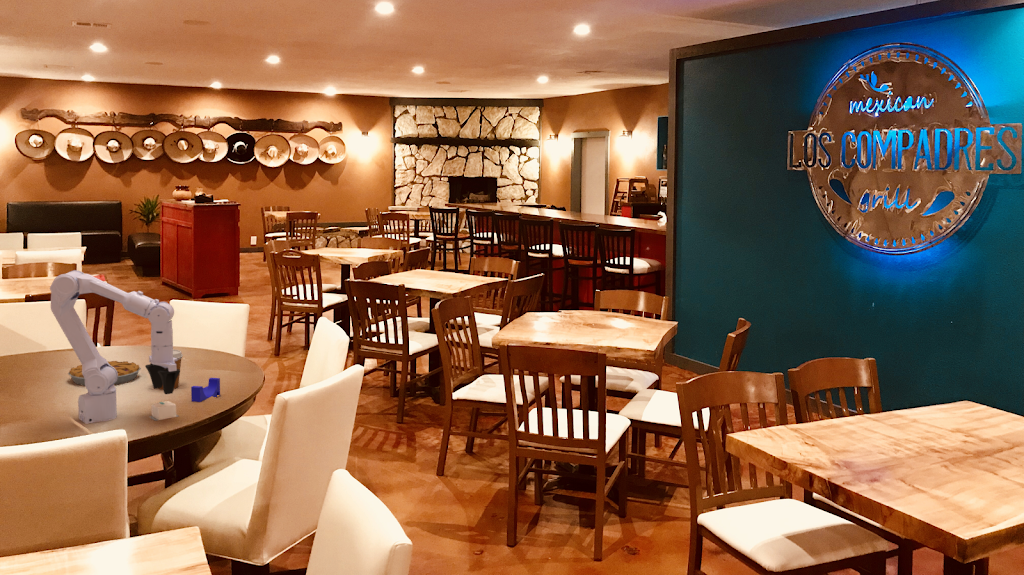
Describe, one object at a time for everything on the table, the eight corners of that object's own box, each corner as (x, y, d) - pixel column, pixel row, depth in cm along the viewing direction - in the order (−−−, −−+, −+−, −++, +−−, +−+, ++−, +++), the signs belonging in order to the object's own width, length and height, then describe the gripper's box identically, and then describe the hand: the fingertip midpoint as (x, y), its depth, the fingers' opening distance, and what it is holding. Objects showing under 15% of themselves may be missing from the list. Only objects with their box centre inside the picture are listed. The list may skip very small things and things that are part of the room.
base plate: (155, 424, 230) (155, 420, 230) (148, 420, 233) (148, 416, 233) (179, 420, 235) (179, 416, 235) (172, 416, 238) (172, 412, 238)
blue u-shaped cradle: (207, 395, 262) (206, 377, 261) (220, 396, 261) (219, 378, 260) (187, 405, 250) (186, 386, 249) (200, 406, 249) (200, 387, 249)
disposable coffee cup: (164, 382, 274) (163, 348, 273) (189, 384, 272) (188, 350, 271) (146, 389, 265) (145, 354, 263) (172, 392, 263) (171, 356, 262)
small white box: (176, 416, 234) (175, 404, 233) (159, 420, 230) (158, 407, 230) (168, 412, 237) (168, 400, 237) (151, 416, 234) (151, 403, 233)
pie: (105, 391, 262) (104, 376, 262) (53, 383, 269) (53, 368, 269) (154, 376, 283) (154, 362, 282) (105, 369, 290) (105, 355, 289)
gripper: (186, 347, 229) (187, 393, 231) (165, 339, 239) (166, 383, 241) (161, 350, 224) (162, 398, 226) (141, 341, 234) (142, 387, 236)
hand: (163, 390), depth 233 cm, fingers open, 7 cm apart
